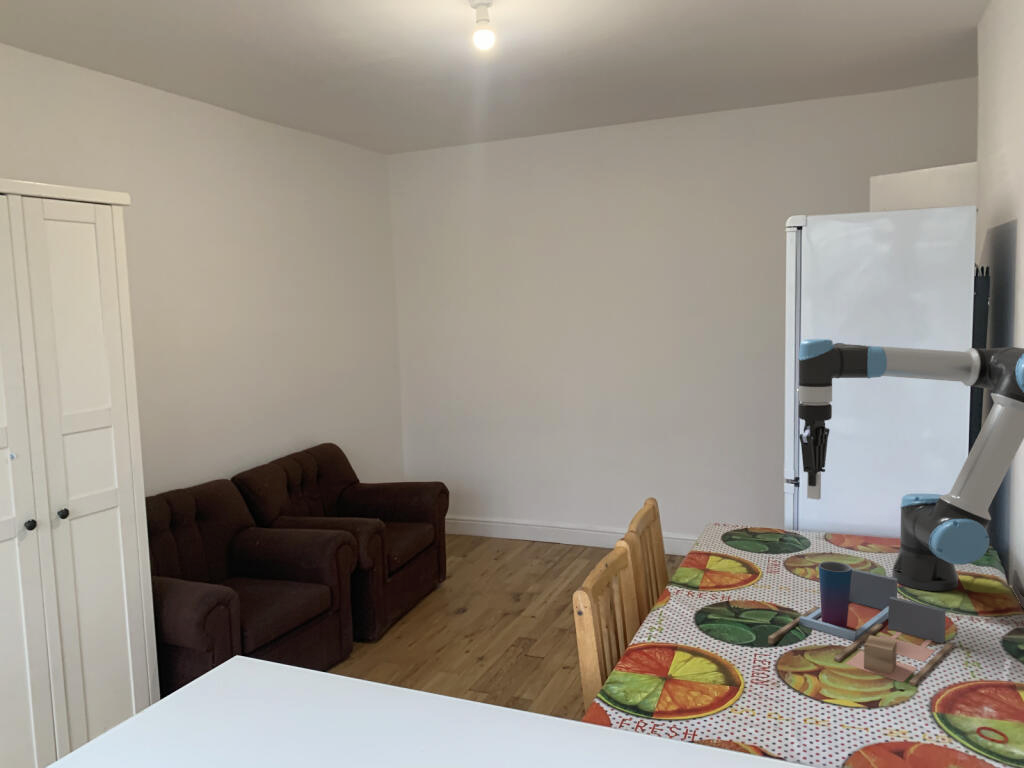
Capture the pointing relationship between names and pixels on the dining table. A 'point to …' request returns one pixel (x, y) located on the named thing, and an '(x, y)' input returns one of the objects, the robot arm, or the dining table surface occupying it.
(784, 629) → the lane guides
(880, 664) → the walnut cube
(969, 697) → the dining table surface
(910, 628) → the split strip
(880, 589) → the frame
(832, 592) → the cup
